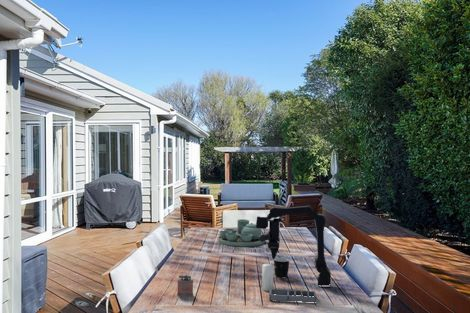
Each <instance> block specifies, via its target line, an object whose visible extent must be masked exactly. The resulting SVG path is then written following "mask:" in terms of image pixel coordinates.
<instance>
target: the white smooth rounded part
mask: <svg viewBox="0 0 470 313" xmlns="http://www.w3.org/2000/svg"><path fill="white" fill-rule="evenodd" d="M261 268H262V269H261V290H262V291H264V290H265V292H270V289H274V272H275V270H274V263H273V264H272V263H263V264H262V266H261Z"/></svg>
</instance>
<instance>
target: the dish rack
mask: <svg viewBox="0 0 470 313" xmlns="http://www.w3.org/2000/svg"><path fill="white" fill-rule="evenodd" d="M274 294H276V295H274ZM292 295H294V296H292ZM296 295H301V296H296ZM302 295H303V296H302ZM304 296H307V297H304ZM309 296H314V297H309ZM268 299H269V300H276V301H275V302H278V301H302V302H316V303H317V294H316V291H314V290H302V289H300V290H298V289H285V288H282V289H280V288H273V289H270V291H269V294H268ZM269 300H268V301H269Z"/></svg>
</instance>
